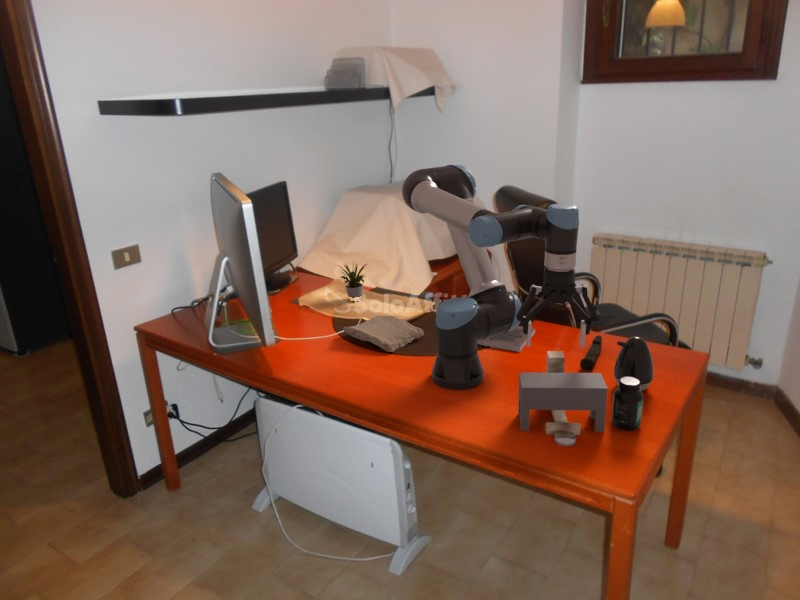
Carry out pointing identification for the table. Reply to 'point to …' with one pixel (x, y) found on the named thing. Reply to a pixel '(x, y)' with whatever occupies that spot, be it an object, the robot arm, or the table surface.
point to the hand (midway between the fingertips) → (555, 345)
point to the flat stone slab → (385, 332)
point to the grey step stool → (562, 395)
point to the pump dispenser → (634, 361)
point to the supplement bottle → (627, 404)
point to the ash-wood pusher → (560, 421)
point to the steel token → (565, 438)
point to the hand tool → (592, 354)
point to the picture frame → (508, 340)
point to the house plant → (353, 282)
